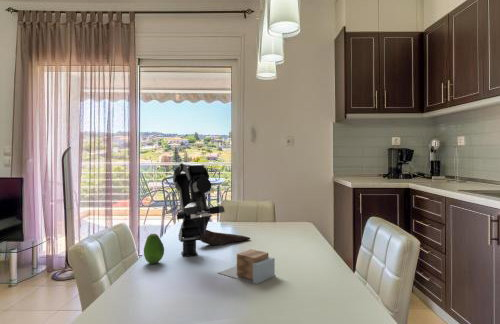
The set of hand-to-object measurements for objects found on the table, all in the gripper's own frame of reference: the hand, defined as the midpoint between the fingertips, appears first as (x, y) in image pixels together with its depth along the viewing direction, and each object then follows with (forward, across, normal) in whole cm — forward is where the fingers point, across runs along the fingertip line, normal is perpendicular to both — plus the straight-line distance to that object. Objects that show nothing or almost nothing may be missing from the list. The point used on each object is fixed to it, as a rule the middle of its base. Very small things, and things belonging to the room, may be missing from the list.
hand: (203, 234), depth 139 cm
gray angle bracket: (+16, +17, -4) cm, 24 cm away
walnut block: (+17, +20, -5) cm, 26 cm away
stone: (+8, -8, +35) cm, 37 cm away
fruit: (+9, -22, -3) cm, 24 cm away
